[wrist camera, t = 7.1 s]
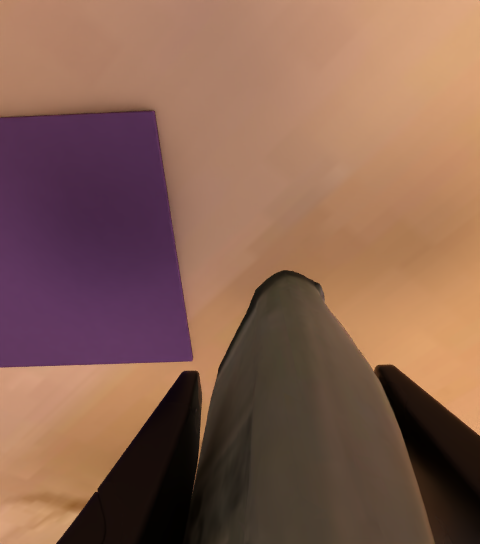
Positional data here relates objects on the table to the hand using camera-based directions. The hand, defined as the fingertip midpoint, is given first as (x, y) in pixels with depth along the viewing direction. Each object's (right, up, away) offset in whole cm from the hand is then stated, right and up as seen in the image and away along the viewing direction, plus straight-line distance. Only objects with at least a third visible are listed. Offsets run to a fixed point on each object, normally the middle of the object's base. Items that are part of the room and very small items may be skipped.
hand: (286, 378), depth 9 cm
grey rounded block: (0, +1, +2) cm, 2 cm away
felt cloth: (-13, +3, +6) cm, 15 cm away
